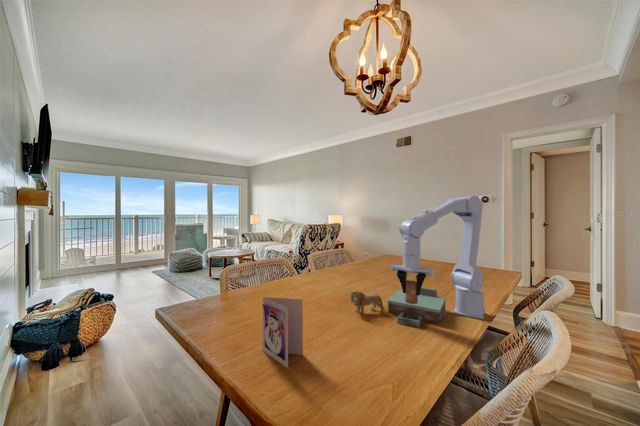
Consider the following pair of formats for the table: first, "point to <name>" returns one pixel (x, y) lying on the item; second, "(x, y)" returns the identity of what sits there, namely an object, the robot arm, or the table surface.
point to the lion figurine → (365, 301)
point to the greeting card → (282, 328)
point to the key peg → (411, 292)
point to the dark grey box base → (415, 315)
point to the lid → (420, 300)
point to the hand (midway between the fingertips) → (411, 293)
